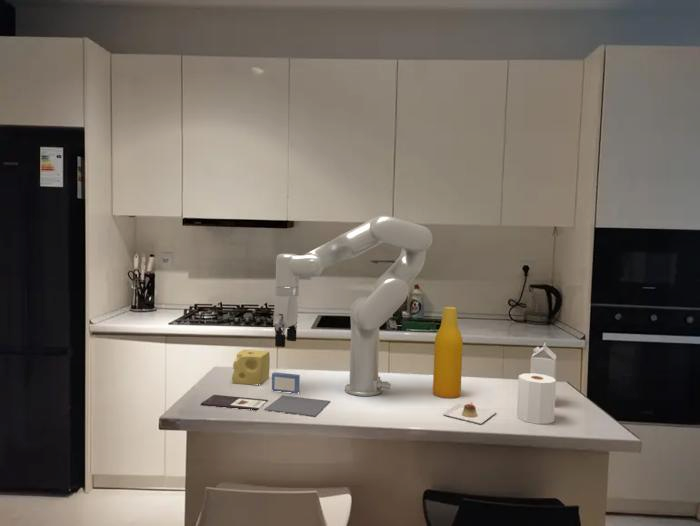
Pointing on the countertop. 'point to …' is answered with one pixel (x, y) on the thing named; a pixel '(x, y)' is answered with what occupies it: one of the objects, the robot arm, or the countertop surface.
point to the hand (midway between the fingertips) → (286, 343)
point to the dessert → (469, 412)
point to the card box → (285, 382)
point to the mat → (298, 405)
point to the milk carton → (543, 361)
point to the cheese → (251, 367)
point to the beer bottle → (448, 356)
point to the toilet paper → (536, 398)
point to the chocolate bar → (234, 402)
